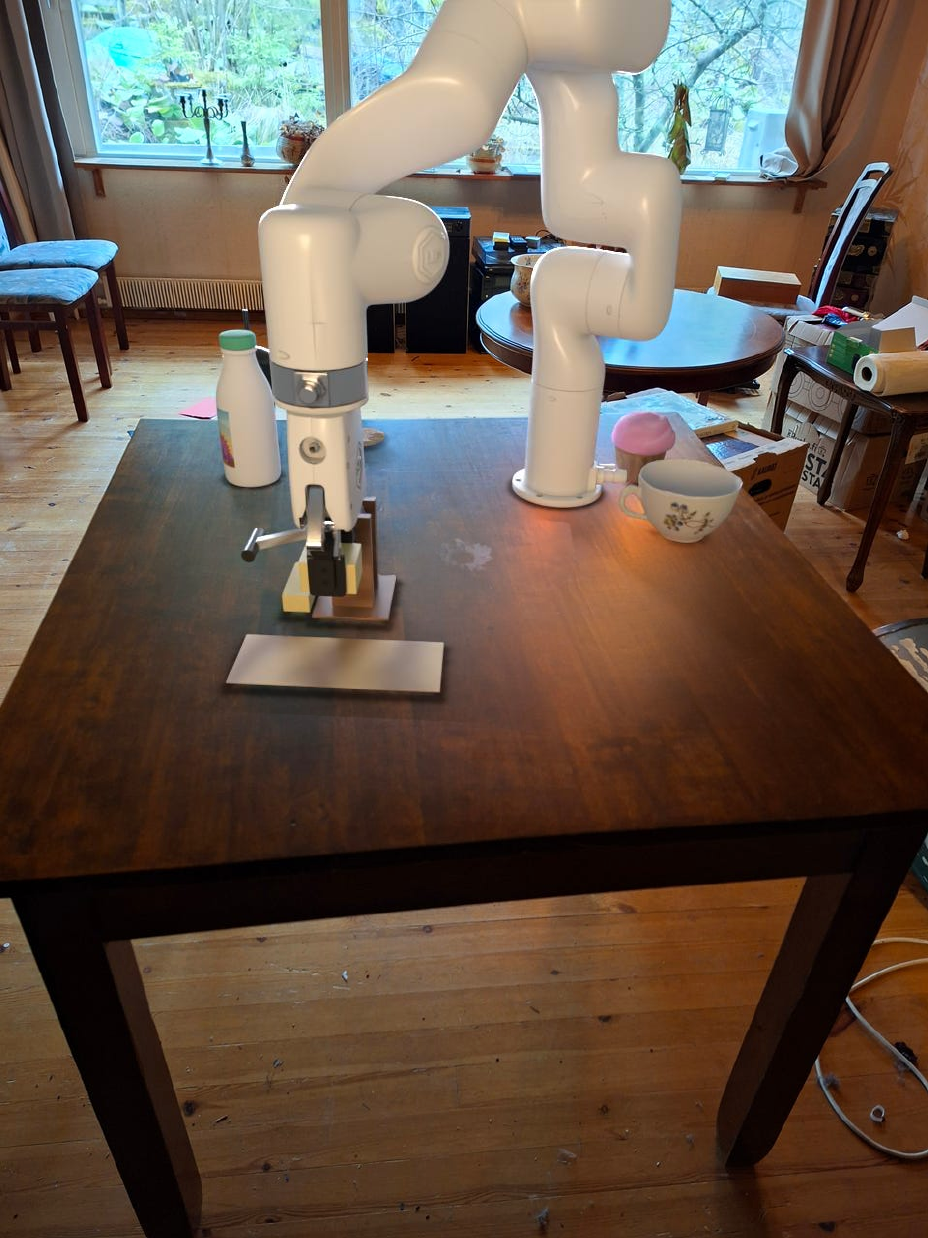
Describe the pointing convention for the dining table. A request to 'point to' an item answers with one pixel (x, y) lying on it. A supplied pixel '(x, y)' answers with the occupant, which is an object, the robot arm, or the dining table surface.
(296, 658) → the serving board
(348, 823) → the dining table surface
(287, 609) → the butter stick
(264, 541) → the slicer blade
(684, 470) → the teacup
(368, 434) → the flatbread
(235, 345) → the milk bottle
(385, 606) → the wooden stand
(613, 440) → the cupcake
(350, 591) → the butter pat
